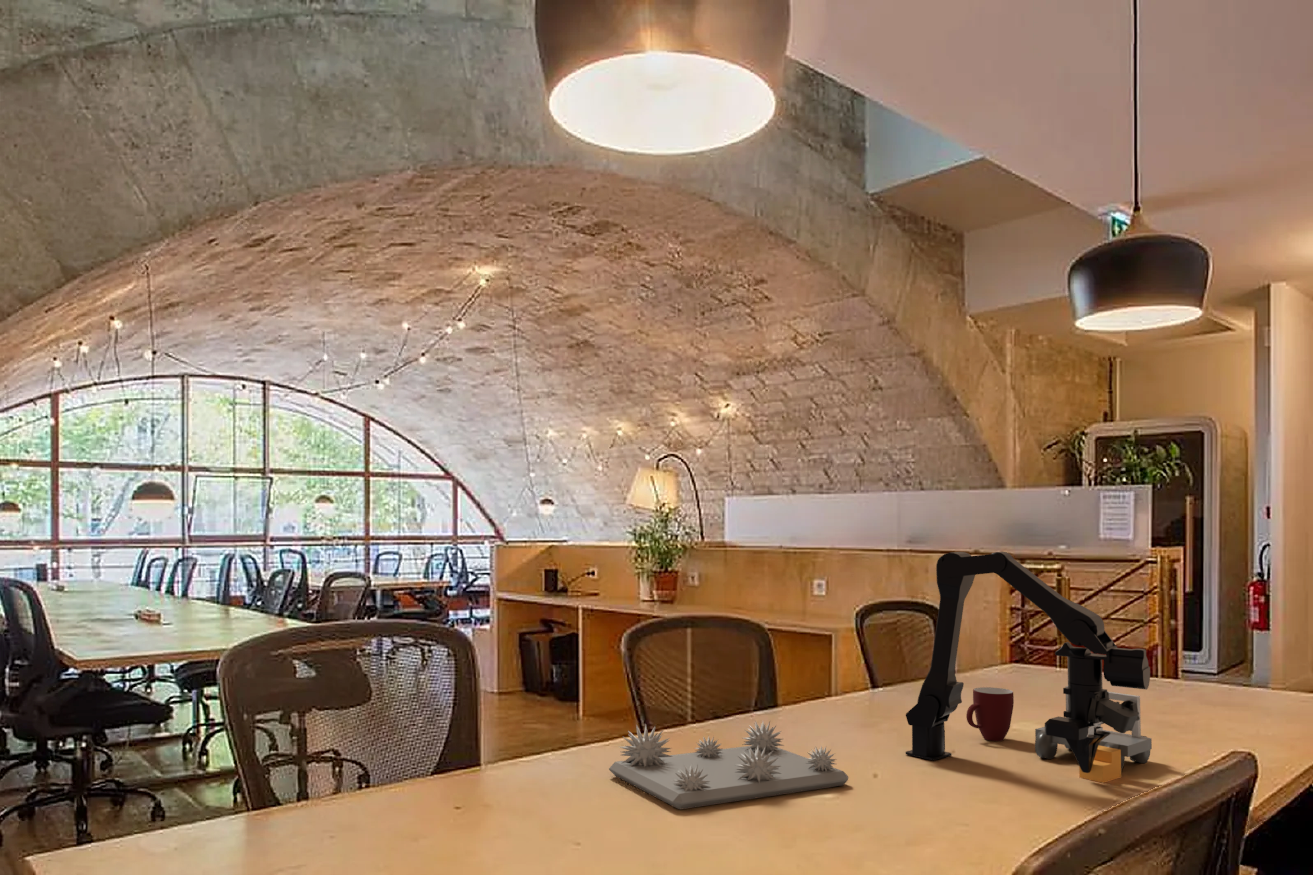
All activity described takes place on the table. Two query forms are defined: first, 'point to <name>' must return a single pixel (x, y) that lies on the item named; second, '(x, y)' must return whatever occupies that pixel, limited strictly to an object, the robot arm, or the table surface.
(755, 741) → the decorative tray
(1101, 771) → the orange stair block
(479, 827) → the table surface
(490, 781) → the table surface
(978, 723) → the mug
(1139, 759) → the trolley
